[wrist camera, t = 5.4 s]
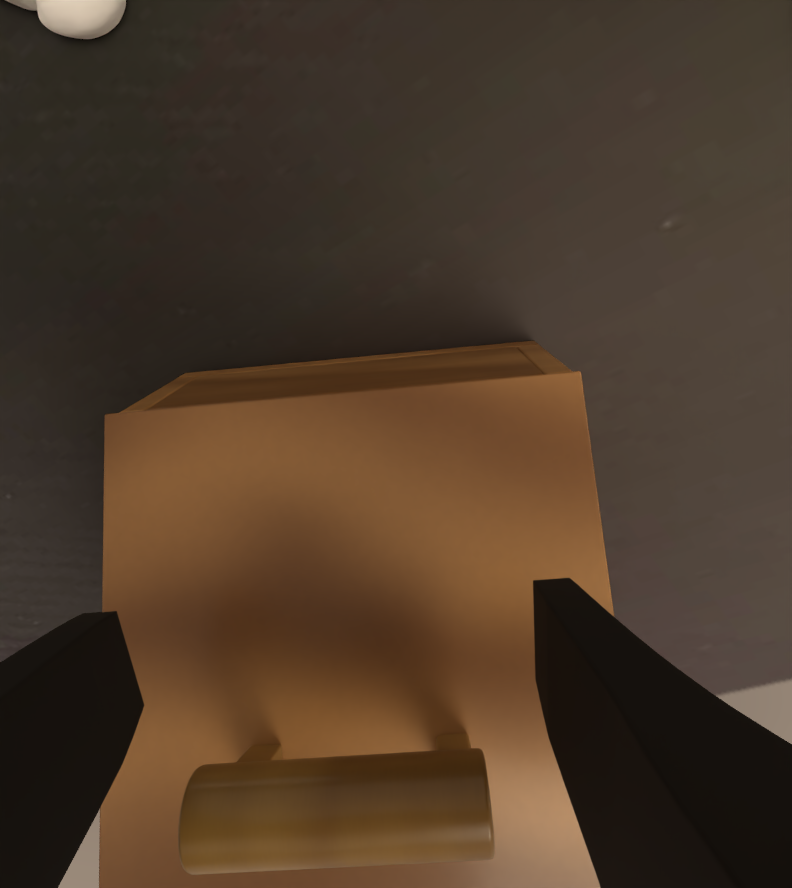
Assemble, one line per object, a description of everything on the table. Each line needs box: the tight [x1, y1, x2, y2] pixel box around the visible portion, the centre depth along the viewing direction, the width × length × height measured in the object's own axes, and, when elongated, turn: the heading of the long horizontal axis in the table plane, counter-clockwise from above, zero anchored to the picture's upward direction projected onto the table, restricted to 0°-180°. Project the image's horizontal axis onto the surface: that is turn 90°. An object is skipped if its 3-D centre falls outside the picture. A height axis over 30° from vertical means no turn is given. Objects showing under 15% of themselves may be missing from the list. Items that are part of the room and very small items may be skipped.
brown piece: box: [99, 371, 614, 888], centre depth 12 cm, size 12×11×4 cm
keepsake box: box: [120, 341, 572, 413], centre depth 19 cm, size 11×11×5 cm
